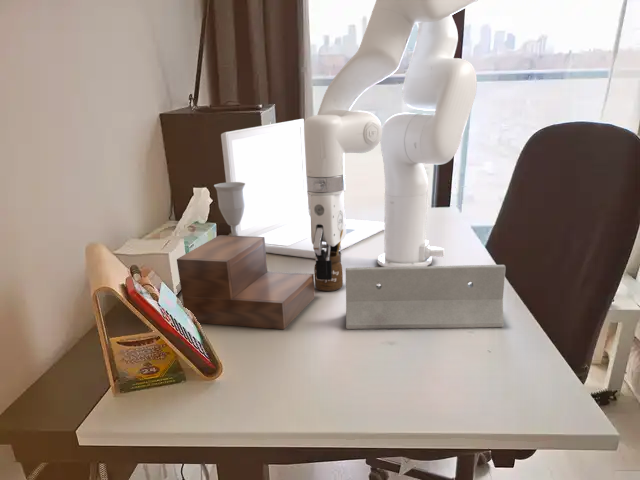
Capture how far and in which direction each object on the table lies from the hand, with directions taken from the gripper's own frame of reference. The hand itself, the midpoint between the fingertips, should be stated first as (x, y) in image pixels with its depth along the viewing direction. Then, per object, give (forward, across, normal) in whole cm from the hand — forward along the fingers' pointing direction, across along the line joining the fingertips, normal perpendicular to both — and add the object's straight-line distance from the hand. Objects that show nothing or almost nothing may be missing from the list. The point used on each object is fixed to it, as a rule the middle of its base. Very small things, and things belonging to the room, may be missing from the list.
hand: (329, 273), depth 137 cm
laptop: (+3, +40, +17) cm, 44 cm away
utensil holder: (+3, 0, 0) cm, 3 cm away
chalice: (+3, +15, +28) cm, 32 cm away
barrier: (+3, -16, -23) cm, 28 cm away
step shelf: (+3, -16, +11) cm, 20 cm away
